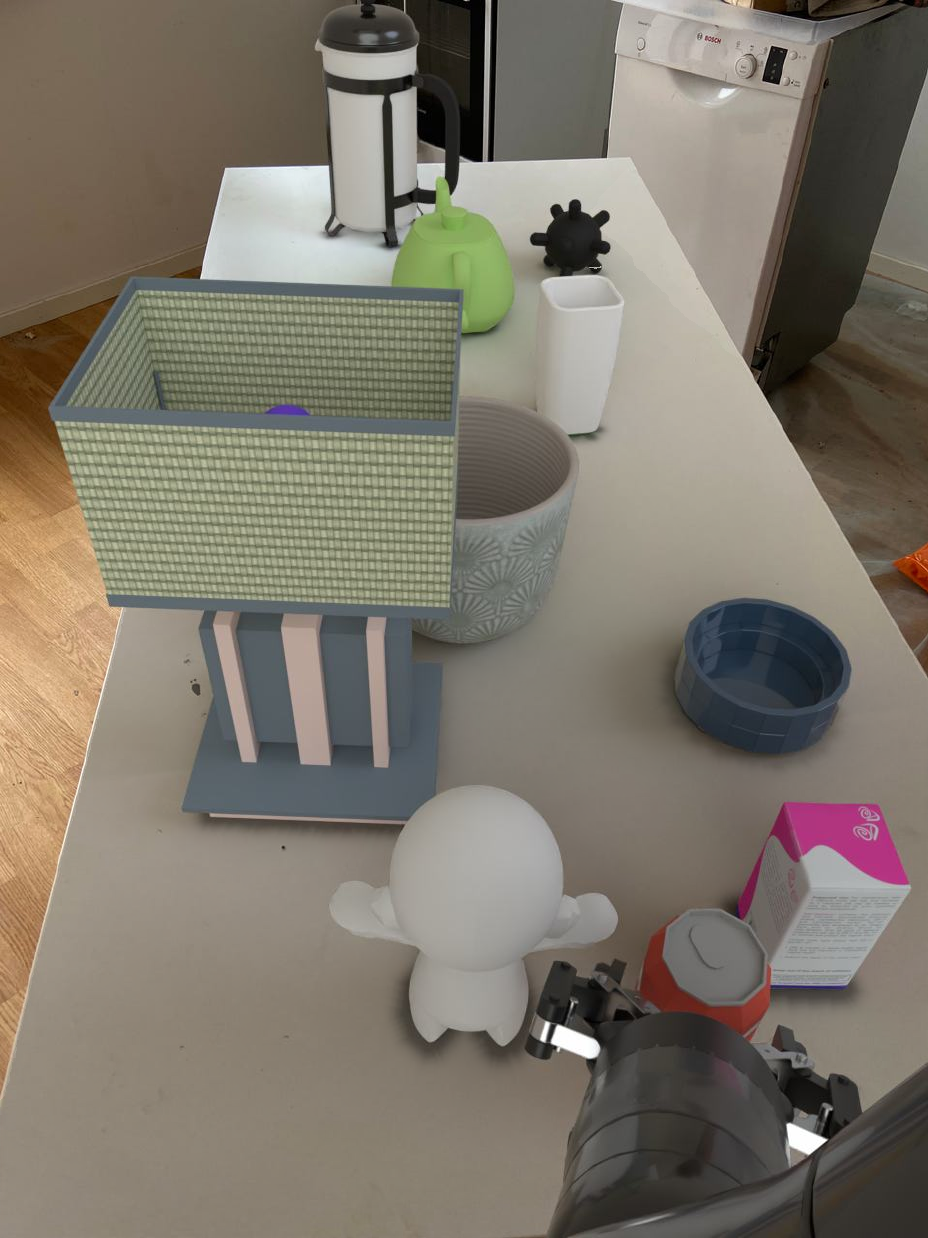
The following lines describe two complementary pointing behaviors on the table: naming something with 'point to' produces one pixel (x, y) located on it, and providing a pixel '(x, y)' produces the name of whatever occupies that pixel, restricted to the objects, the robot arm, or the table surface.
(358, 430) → the desk lamp
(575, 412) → the cup
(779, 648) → the bowl
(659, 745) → the table surface
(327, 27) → the coffee press
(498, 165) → the table surface
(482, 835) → the figurine
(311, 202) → the table surface
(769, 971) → the beverage can
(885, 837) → the supplement box
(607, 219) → the toy ball
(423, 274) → the teapot
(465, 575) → the planter
